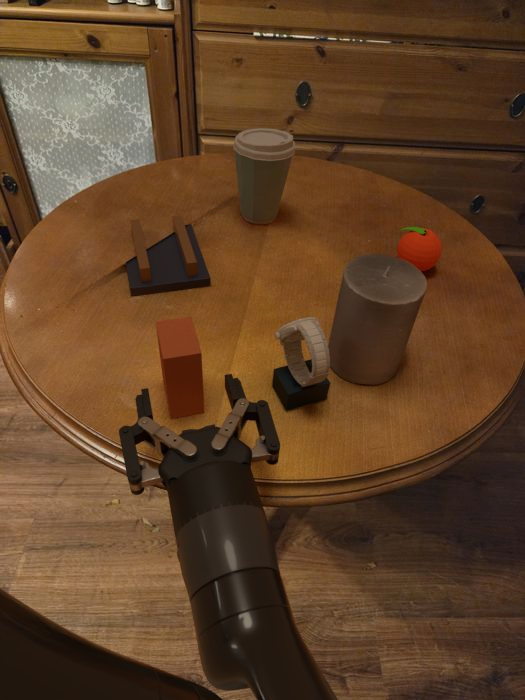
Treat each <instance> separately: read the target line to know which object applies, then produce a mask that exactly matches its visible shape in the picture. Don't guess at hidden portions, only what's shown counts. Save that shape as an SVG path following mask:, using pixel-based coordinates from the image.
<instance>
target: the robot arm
mask: <svg viewBox="0 0 525 700" xmlns="http://www.w3.org/2000/svg"><path fill="white" fill-rule="evenodd" d="M224 389H225V392H226V396H227V399H228V402H229V406H230V409H231V411H230V412H229V413H227V415H226V417H225V419H224V421H223V422H222V424H221V426H216V424H215V423H213V424H209V425H205V426H203V427H201V428H188V429H183V430H181V433H179V434H177V433H176V432H175V431H173V430H172V429H171V428H169V427H167V426H166V425H161V424H159V423H158V422H156V421H155V419H154V414H153V408H152V401H151V397H150V391H149V390H150V389H149V388H148V387H146V388H141V389H140V391H141V394H136V397H135V407H136V414H137V421H136V422H135V423H134V424H132V425H123V426H121V427H120V428H119V429H118V435H119V441H120V446H121V450H122V451H121V452H122V456H123V462H124V463H123V464H124V468H125V473H126V478H127V480H128V481H127V482H128V485H129V489H130V493H131V494H132V495H134V496H139V495H141V494H143V493H144V492H145V489H146V488H147V487H151V486H154V485H155V486H156V485H159V484H162V485H163V486H164V488H165V489H166V491H167V497H168V503H169V508H170V515H171V520H172V527H173V532H174V536H175V544H176V555H177V560H178V563H179V565H180V572H181V576H182V580H183V583H184V586H185V589H186V592H187V595H188V599H189V603H190V608H191V615H192V620H193V625H194V632H195V638H196V642H197V649H198V655H199V659H200V663H201V668H202V671H203V674H204V676H205V679H206V680H207V682H208V683H209V685H211V686H212V687H214V689H217V690H221V691H228V692H230V691H240V690H246V689H250V691H251V692H252V694H253V696H254V697H255V699H256V700H339V698H338V697H337V695H336V693H335V692H334V690H333V689H332V687H331V686H330V684H329V682H328V680H327V678H326V677H325V675H324V673H323V671H322V670H321V668H320V666H319V664H318V663H317V661H316V659H315V657H314V655H313V654H312V652H311V650H310V648H309V646H308V645H307V643H306V642H305V640H304V638H303V637H302V635H301V633H300V630H299V629H298V627H297V624H296V620H295V617H294V614H293V613H294V612H293V609H292V607H291V603H290V600H289V597H288V594H287V590H286V587H285V584H284V580H283V577H282V574H281V570H280V567H279V561H278V554H277V548H276V544H275V541H274V537H273V533H272V530H271V528H270V525H269V520H268V518H267V515H266V511H265V508H264V506H263V501H262V498H261V495H260V493H259V489H258V486H257V482H256V479H255V476H254V473H253V470H252V464H253V463H259V462H264V461H265V462H266V463H267V464H268V465H270V466H275V465H277V464H278V462H279V459H280V458H279V457H280V449H281V442H280V439H279V436H278V435H279V434H278V432H277V429H276V426H275V422H274V418H273V415H272V411H271V409H270V404H269V402H268V401H267V400H265V399H259V400H257V402H255V401H253V402H252V401H250V400H248V399H247V396H246V394H245V393H246V392H245V391H244V388H243V385H242V382H241V379H239V377H234V376H233V374H232V373H227V374H224ZM248 421H250V422H251V421H252V422H255V425H256V430H257V434H258V436H259V437H257V438H256V440H255V445H254V447H253V448H251V447H250V445H248V444H246V443H245V442H243V441H242V439H241V435H242V433H243V430H244V428H245V427H246V424H247V422H248ZM240 439H241V440H240ZM143 442H144V443H145V444H146V445H148V446H149V447H150V448H151V449H153V450H154V451H155V453H156V454H157V455H158V457H160V458H161V461H160V462H159V464H158V467H157V468H154V467H152V466H151V465H150V463H149V462H147V461H145V460H139V459H140V458H139V455H138V450H137V445H139V444H141V443H143ZM0 700H223V698H222V697H221V696H219V695H218V694H217V693H215V692H214V691H212V690H211V689H209V688H207V687H205V686H203V685H201V684H199V683H197V682H194V681H192V680H189V679H186V678H184V677H183V676H179V675H176V674H174V673H172V672H169V671H166V670H164V669H160V668H159V667H156V666H154V665H151V664H148V663H145V662H143V661H140V660H137V659H134V658H133V657H130V656H127V655H124V654H121V653H118V652H116V651H114V650H113V649H112V650H111V649H110V648H107V647H106V646H103V645H100V644H99V643H96V642H94V641H92V640H89V639H88V638H86V637H84V636H81V635H79V634H77V633H76V632H74V631H72V630H70V629H68V628H66V627H64V626H62V625H61V624H59V623H57V622H55V621H53V620H52V619H51V618H49V617H47V616H45V615H44V614H42V613H40V612H38V611H37V610H36V609H34V608H32V607H31V606H30V605H27V603H24V602H23V601H21V600H20V599H18V598H17V597H15V596H14V595H12V594H10V593H9V592H8V591H6V590H4V589H3V588H1V587H0Z"/></svg>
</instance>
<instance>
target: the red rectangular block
mask: <svg viewBox="0 0 525 700" xmlns="http://www.w3.org/2000/svg"><path fill="white" fill-rule="evenodd" d="M155 328H156V338H157V344H158V351H159V360H160V368H161V374H162V383H163V387H164V392H165V397H166V403H167V409H168V413H169V417H170V420H172V419H177V418H183V417H189V416H193V415H198V414H204V413H205V397H204V375H203V355H202V354H203V353H202V350H201V345H200V342H199V339H198V335H197V332H196V329H195V325H194V322H193V318H192V316H186V317H185V316H184V317H179V318H172V319H171V318H170V319H164V320H156V321H155Z"/></svg>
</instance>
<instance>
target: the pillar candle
mask: <svg viewBox="0 0 525 700" xmlns="http://www.w3.org/2000/svg"><path fill="white" fill-rule="evenodd" d="M343 269H344V270H343V273H342V278H341V283H340V287H339V291H338V296H337V301H336V307H335V312H334V314H333V315H334V316H333V321H332V325H331V330H330V335H329V339H328V348H329V356H330V368H331V370H332V371H333V372H334V373H335V374H336V375H337V376H338V377H340V378H341V379H344V381H347V382H349V383H353V384H359V385H360V384H361V385H369V386H370V385H372V386H376V385H382V384H385V383H386V382H388V381H390V380H392V379H393V377H394V376H395V375H396V374H397V372H398V370H399V367H400V365H401V363H402V360H403V357H404V354H405V352H406V348H407V347H408V343H409V340H410V337H411V334H412V331H413V329H414V325H415V323H416V319H417V317H418V314H419V311H420V307H421V306H422V303H423V301H424V299H425V295H426V292H427V288H428V283H427V282H428V281H427V278H426V276H425V275H424V273H423V271H420V270H419V269H418V268H416V267H415V266H414V265H413V264H411V263H409V262H408V261H405V260H403V259H400V258H398V256H394V255H390V254H381V253H367V254H362V255H358V256H356V257H353V258H352V259H350V260H349V261H348V263H346V265H345V267H344V268H343Z"/></svg>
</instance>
